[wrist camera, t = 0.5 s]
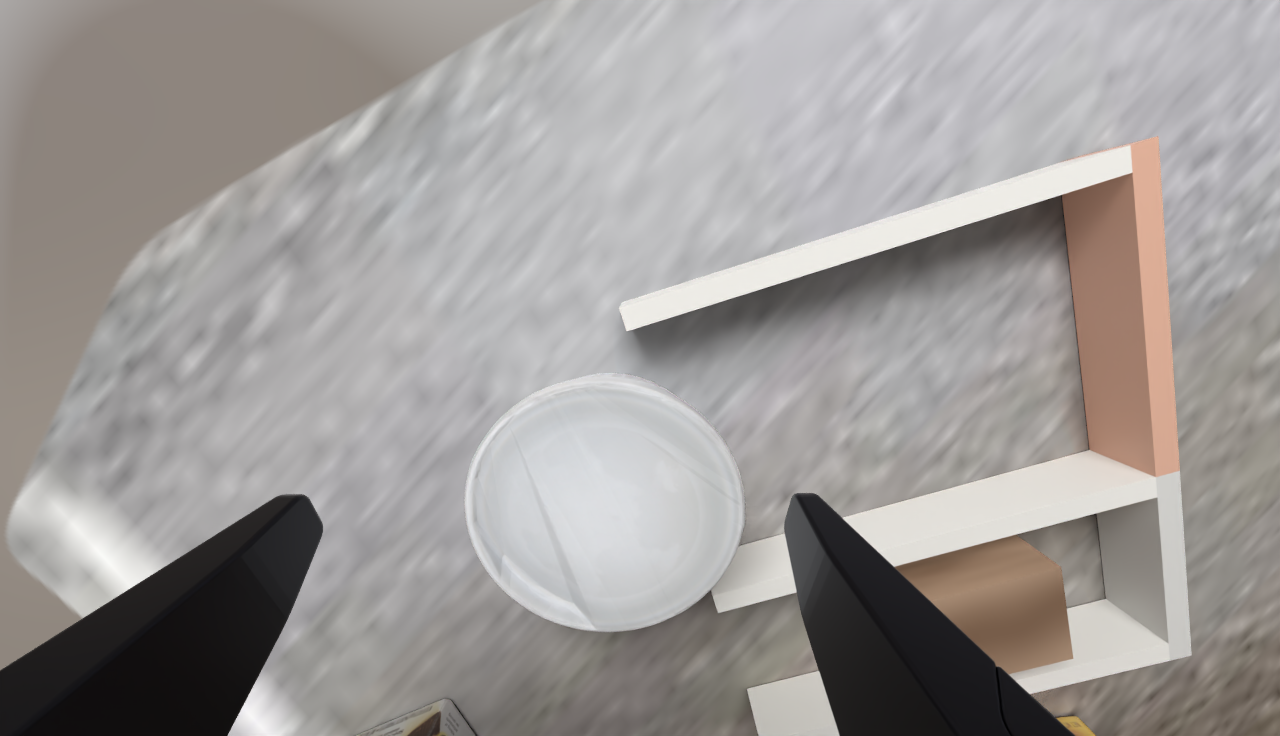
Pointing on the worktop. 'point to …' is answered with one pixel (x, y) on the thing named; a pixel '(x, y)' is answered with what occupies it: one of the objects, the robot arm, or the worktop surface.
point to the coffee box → (426, 723)
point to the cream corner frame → (1040, 494)
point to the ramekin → (604, 503)
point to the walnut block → (1000, 600)
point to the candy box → (1076, 726)
